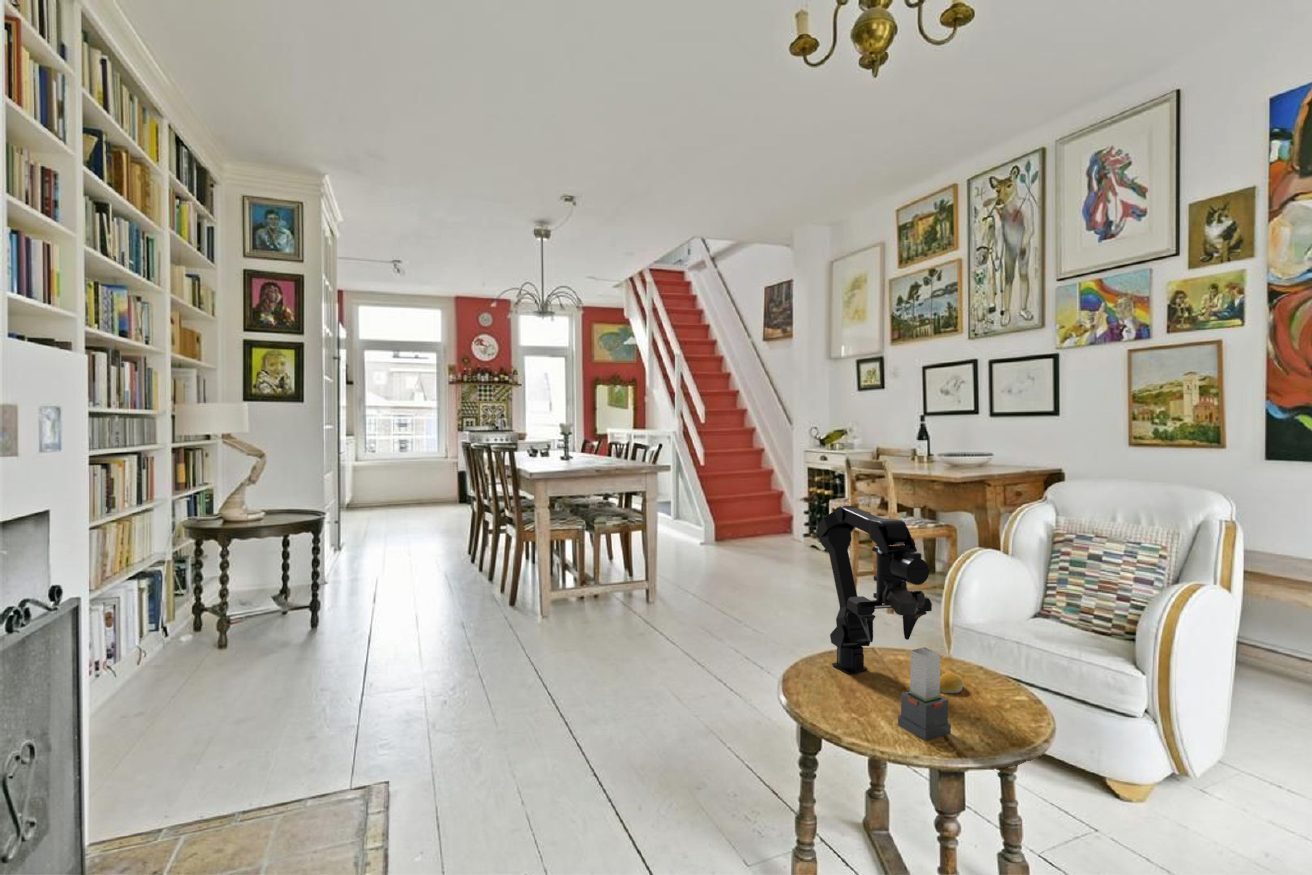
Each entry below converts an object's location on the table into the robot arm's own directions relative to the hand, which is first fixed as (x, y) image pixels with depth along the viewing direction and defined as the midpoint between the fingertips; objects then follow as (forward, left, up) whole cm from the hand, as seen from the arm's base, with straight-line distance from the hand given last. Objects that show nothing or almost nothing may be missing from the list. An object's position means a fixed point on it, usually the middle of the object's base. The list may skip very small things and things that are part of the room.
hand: (888, 640), depth 148 cm
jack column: (+15, -5, -8) cm, 18 cm away
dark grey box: (+15, -5, -13) cm, 20 cm away
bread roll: (+1, +16, -14) cm, 21 cm away
